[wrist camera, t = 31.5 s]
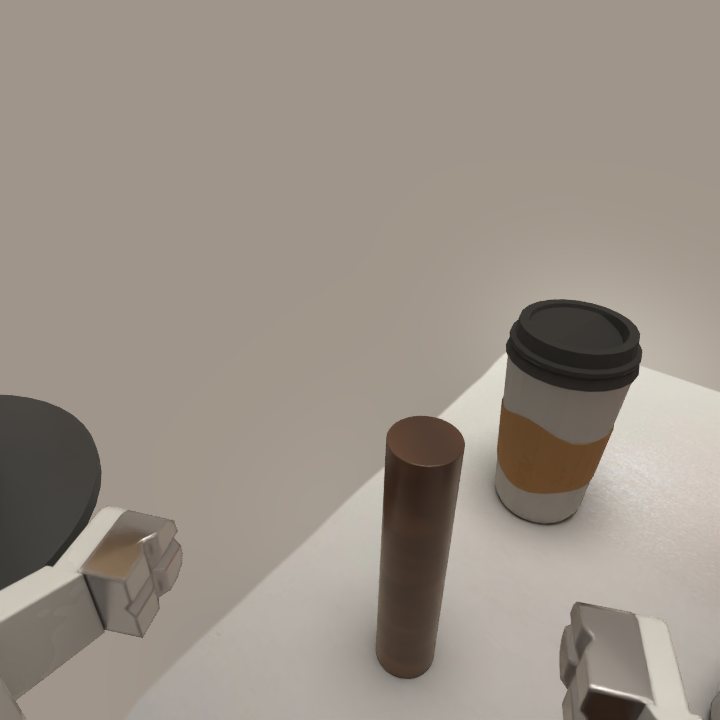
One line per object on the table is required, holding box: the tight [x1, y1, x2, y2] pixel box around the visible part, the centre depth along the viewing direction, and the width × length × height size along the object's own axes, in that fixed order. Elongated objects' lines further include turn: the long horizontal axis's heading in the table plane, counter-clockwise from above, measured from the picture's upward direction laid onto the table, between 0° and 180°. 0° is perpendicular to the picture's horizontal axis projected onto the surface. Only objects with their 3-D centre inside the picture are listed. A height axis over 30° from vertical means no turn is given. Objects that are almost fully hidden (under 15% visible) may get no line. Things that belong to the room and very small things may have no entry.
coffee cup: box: [495, 299, 642, 524], centre depth 40 cm, size 8×8×15 cm
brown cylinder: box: [376, 416, 465, 678], centre depth 29 cm, size 3×3×16 cm
